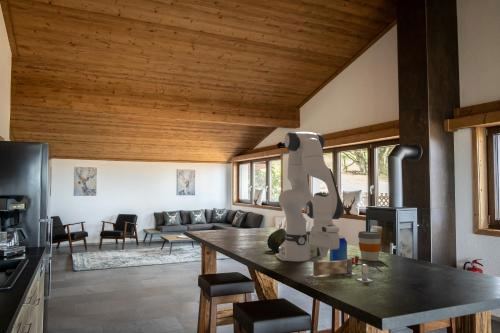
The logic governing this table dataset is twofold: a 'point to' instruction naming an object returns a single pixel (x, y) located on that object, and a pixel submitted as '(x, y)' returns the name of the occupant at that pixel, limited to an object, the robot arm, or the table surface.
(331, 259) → the beer can
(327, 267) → the gate
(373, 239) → the reusable coffee cup
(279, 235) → the squash
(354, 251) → the table surface
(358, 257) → the glasses
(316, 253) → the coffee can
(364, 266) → the gate frame
